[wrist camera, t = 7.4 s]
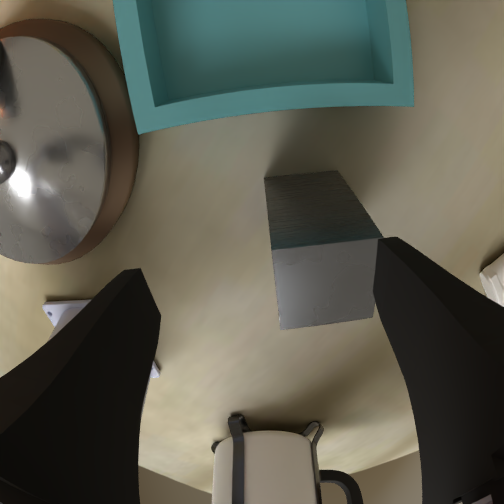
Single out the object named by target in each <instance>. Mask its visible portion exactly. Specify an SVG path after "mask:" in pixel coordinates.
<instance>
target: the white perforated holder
mask: <svg viewBox="0 0 504 504" xmlns="http://www.w3.org/2000/svg"><path fill="white" fill-rule="evenodd" d="M480 278H481V282H482V285H483V288H484V290H485V293H486V295H487V298H489V299H491V300H493V301H494V302H496V303H498V304H500V305H501V306H503V307H504V253H503V254H502V255H501V256H500V257H499V258H498V259H496V260H495V261H494V262H493V263H492V264H490V265H488V266H487V267H486V268H484V269H483V271H482V272H480Z"/></svg>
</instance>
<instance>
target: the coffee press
mask: <svg viewBox="0 0 504 504" xmlns="http://www.w3.org/2000/svg"><path fill="white" fill-rule="evenodd" d="M228 425H229V428H230V431H231V434H232V436H231V437H228V438H226V439H224V440H223V441H222V442H220V443H219V442H215V443H213V445H212V447H211V449H212V451H213V452H214V454H215V458H214V473H213V491H212V504H322V499H321V489H320V483H321V482H322V483H324V482H329V483H330V482H331V483H335V484H337V485H339V486H340V487H341V488H342V489H343V490H344V492H345V494H346V498H347V504H363V499H362V495H361V491H360V489H359V486H358V484H357V483H356V481H355V480H354V479H353V478H352V477H351V476H349V475H348V474H346V473H344V472H341V471H336V470H319V465H318V461H317V451H316V446H317V443H318V441H319V439H320V437H321V435H322V433H323V431H324V428H323V426H322V425H321V424H320V423H319V422H317V421H313V422H311V423H310V424H309V425H308V426H307V427H306V429H305V430H304V431H303V432H301V433H299V434H296V433H292V432H285V431H253V432H252V431H251V430H250V429H249V427H248V425H247V423H246V421H245V418H244V416H243V415H236V416H231V417H229V418H228ZM316 426H319V429H318V431H317V433H316V434H315V436H314V438H313V441H312V442H311V441H310V440H309V439H307V438H306V436H307V435H308V434H309V433H310V432H311V431H312V429H313V428H314V427H316Z"/></svg>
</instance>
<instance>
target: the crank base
mask: <svg viewBox="0 0 504 504" xmlns="http://www.w3.org/2000/svg"><path fill="white" fill-rule="evenodd" d="M18 36H34V37H41V38H44V39H47V40H50V41H53V42H55V43H57V44H58V45H60V46H62V47H63V48H65V49H66V50H67V51H68V52H70V53H71V54H72V55H73V56H74V57H75V58H76V59H77V60H78V61H79V62H80V64H81V65H82V66H83V67H84V68H85V70H86V71H87V73H88V74H89V76H90V78H91V79H92V81H93V82H94V84H95V87H96V89H97V91H98V93H99V95H100V98H101V101H102V104H103V107H104V110H105V113H106V117H107V122H108V126H109V131H110V141H111V174H110V183H109V187H108V191H107V196H106V199H105V202H104V205H103V207H102V210H101V212H100V214H99V216H98V218H97V220H96V222H95V224H94V225H93V226H92V228H91V229H90V230H89V232H88V233H87V234H86V236H85V237H84V238H83V240H82V241H81V242H80V243H79V244H78V245H77V246H76V247H75V248H74V249H73V250H72V251H70V252H69V253H68V254H66V255H65V256H63V257H61V258H59V259H57V260H54V261H50V262H47V263H38V264H47V265H49V264H61V263H65V262H70V261H72V260H75V259H77V258H80V257H82V256H83V255H85V254H87V253H88V252H90V251H91V250H92V249H94V248H95V247H96V246H97V245H98V244H99V243H100V242H101V241H102V240H103V239H104V238H105V237H106V235H107V234H108V233H109V232H110V230H111V229H112V227H113V226H114V225H115V223H116V222H117V220H118V218H119V217H120V215H121V214H122V212H123V211H124V208H125V206H126V204H127V202H128V200H129V198H130V195H131V192H132V188H133V185H134V182H135V177H136V172H137V166H138V156H139V135H138V132H137V128H136V124H135V119H134V115H133V110H132V106H131V101H130V97H129V92H128V87H127V82H126V79H125V76H124V74H123V72H122V70H121V69H120V67H119V65H118V64H117V62H116V60H115V59H114V57H113V56H112V55H111V54H110V52H109V51H108V50H107V49H106V47H105V46H104V45H103V44H102V43H101V42H100V41H98V40H97V39H96V38H95V37H94V36H93V35H92V34H90V33H88V32H87V31H85V30H83V29H82V28H80V27H78V26H75V25H73V24H70V23H67V22H63V21H57V20H49V19H29V20H23V21H19V22H15V23H13V24H10V25H8V26H6V27H3V28H2V29H0V39H3V38H7V37H18Z"/></svg>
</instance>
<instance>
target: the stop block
mask: <svg viewBox="0 0 504 504" xmlns="http://www.w3.org/2000/svg"><path fill="white" fill-rule="evenodd" d="M264 183H265V192H266V201H267V211H268V220H269V230H270V240H271V250H272V258H273V267H274V275H275V284H276V293H277V302H278V311H279V320H280V330H284V329H293V328H301V327H310V326H317V325H325V324H332V323H339V322H346V321H353V320H360V319H366V318H372V317H373V312H374V307H375V298H374V295H373V284H374V275H375V266H376V255H377V244H378V239H381V238H384V237H383V236H382V234H381V233H380V231H379V229H378V228H377V226H376V225H375V223H374V222H373V220H372V219H371V217H370V216H369V214H368V213H367V212H366V210H365V209H364V207H363V206H362V204H361V203H360V201H359V200H358V198H357V197H356V196H355V194H354V193H353V191H352V190H351V189H350V187H349V186H348V184H347V183H346V182H345V180H344V179H343V178H342V176H341V175H340V174H339V172H338V171H326V172H315V173H304V174H294V175H284V176H275V177H267V178H264Z"/></svg>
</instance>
